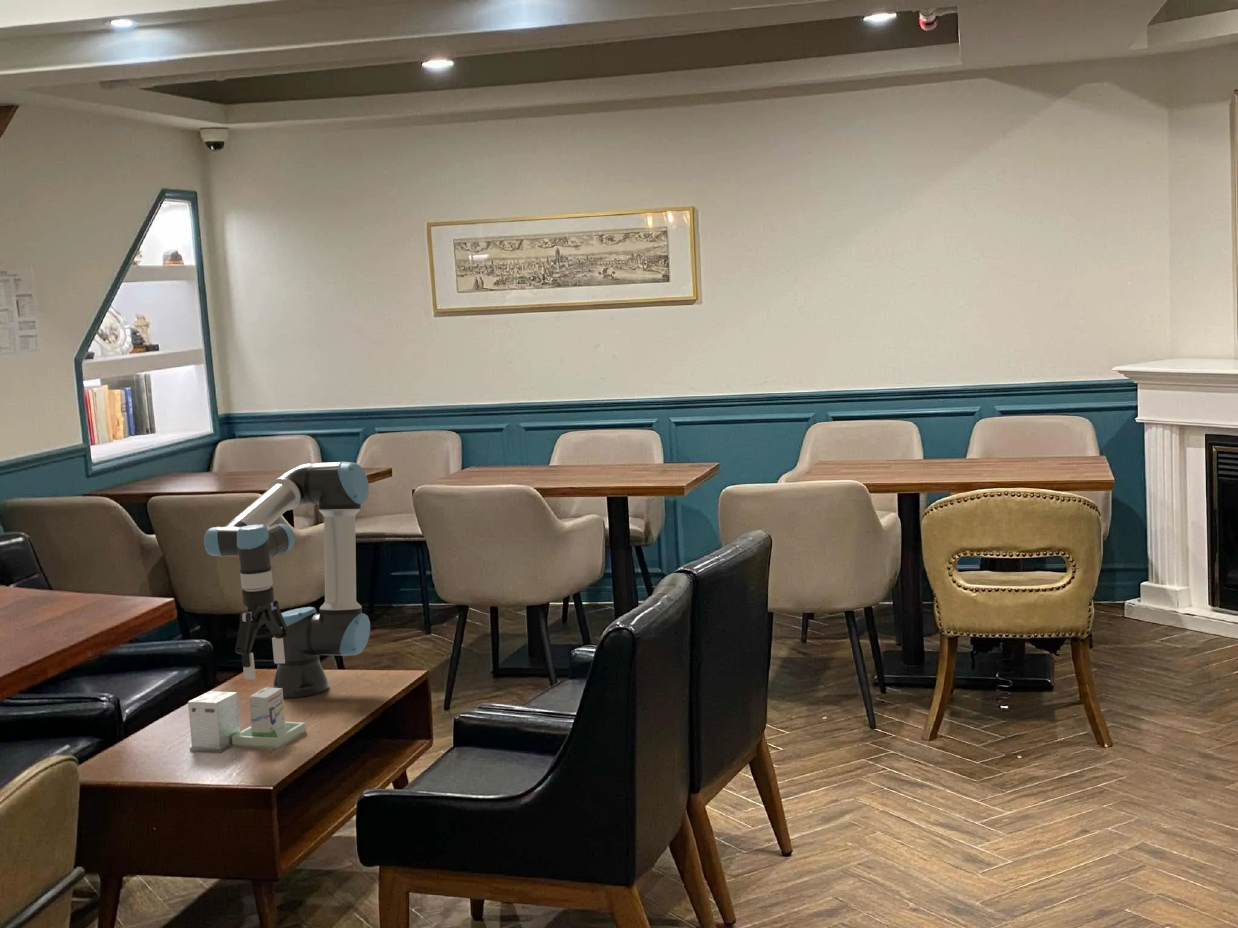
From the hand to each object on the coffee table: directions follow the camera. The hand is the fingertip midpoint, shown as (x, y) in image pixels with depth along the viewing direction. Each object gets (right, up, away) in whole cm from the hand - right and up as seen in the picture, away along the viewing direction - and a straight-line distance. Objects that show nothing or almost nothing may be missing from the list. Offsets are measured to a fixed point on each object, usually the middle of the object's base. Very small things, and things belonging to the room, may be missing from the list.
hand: (265, 670), depth 328 cm
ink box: (+1, -17, +1) cm, 17 cm away
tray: (+1, -17, +2) cm, 18 cm away
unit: (-12, -18, -1) cm, 22 cm away
